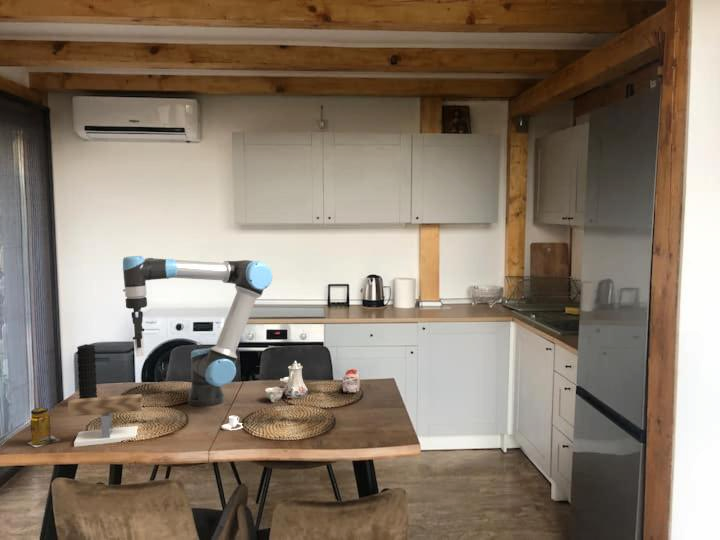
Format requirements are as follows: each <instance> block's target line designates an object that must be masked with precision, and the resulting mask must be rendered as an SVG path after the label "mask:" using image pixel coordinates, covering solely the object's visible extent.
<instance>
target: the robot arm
mask: <svg viewBox="0 0 720 540" xmlns="http://www.w3.org/2000/svg"><path fill="white" fill-rule="evenodd" d="M122 271H123V272H122V273H123V283H124V284H123V285H124V289H122V292H124V294H125V308H127V309H133V311H132V312H131V318H132V324H133V330H134V331H133V332H134V336H133V337H132V340H134V346H135V357H144V356H145V355H144V352H145V351H144V348H145V345H144V344H145V343H144V332H145V328H143V321H144V320H143V319H144V318H143V317H144V311H142V310H141V309H142V308H146V307H147V306H148V299H147V285H146V284H147V283H146V281H152V280H162V279H163V280H165V279H167V280H168V279H189V280H205V281H207V280H209V281H210V280H211V281H222V283H225V284H232V285H235V286H234V288H235V290H236V293H235V295H234V299H233V301H232V304H231V306H230V309H229V311H228V313H227V317H226V319H225V321H224V324H223V327H222V328H221V332H220V333H219V336H218V339H217V341H216V344H215V345H214V346H212V347H208V348H207V347H205V348H199V349H198V348H197V349H194V350H192V351H191V354H190V367H191V368H190V369H191V370H190V371H191V373H190V376H191V386H190V390H189V393H188V396H187V403H188V405H189V406H190V405H191V406H193V407H209V406H215V405H219V404H221V403H223V402H224V400H225V393H224V391H223V388H222V387H225V386H227V385H228V384H230V383H231V382H233V380H234V378H235V376H236V375H237V367H236V362H237V360H238V356H237V353H236V352H237V350H238V346H239V344H240V342H241V339H242V336H243V333H244V332H245V328H246V327H247V324H248V321H249V318H250V316H251V314H252V311H253V308H254V305H255V303H256V300H257V299H258V298H261V297H262V295H263V293H264V290H265V289H267V288H268V287H269V286H270V285H271V284H272V281H273V271H272V270H271V268H270V266H269V265H268V264H267V263H265V262H262V261H259V260H248V259H247V260H245V259H244V260H231V261H230V260H224V261H223V262H214V261H213V262H212V261H198V260H197V261H196V260H184V259H182V260H181V259H173V258H153V257H146V258H145V257H144V256H143V255H132V256H125V257H123V259H122Z"/></svg>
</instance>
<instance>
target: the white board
mask: <svg viewBox="0 0 720 540" xmlns="http://www.w3.org/2000/svg"><path fill="white" fill-rule="evenodd" d="M137 429H138V430H139V425H135V426H122V427H114V428H113V427H112V432H111V435H110V438H103V439H102V429H97V430H96V429H95V430H85V431H79V432H78V434H77V435H76V438H75V440H74V441H73V446H74V448H76V447H84V446H93V445H95V446H96V445H104V444H112V443H121V441H122V440H126V439H130V438H136V435H137V436H138V433H137ZM136 439H137V438H136Z"/></svg>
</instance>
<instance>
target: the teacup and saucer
mask: <svg viewBox="0 0 720 540" xmlns="http://www.w3.org/2000/svg"><path fill="white" fill-rule="evenodd" d="M239 421H240V416H238V415H230V416H228V423H225V424H222V425H221V429H223V430H228V431H237V430H240V429H243V428H244V427H243V426H242V424H243V423H242V422H239ZM237 425H240V427H237V428H236V426H237Z"/></svg>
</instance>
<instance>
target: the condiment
mask: <svg viewBox="0 0 720 540" xmlns="http://www.w3.org/2000/svg"><path fill="white" fill-rule="evenodd" d="M30 415H31V417H30V421H29V422H30V437H31V438H30V440H31V441H28V442H27V444H29V445H30V446H32V447H35V448H39V447H42V446H45V445H49V444H52V443H55V442H56V443H57V442H59V441H60V439H59V438H56V437H54V435H52V434H51V417H50V414H49V408H48V407H36V408H33V409H32V410H31V411H30Z"/></svg>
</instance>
